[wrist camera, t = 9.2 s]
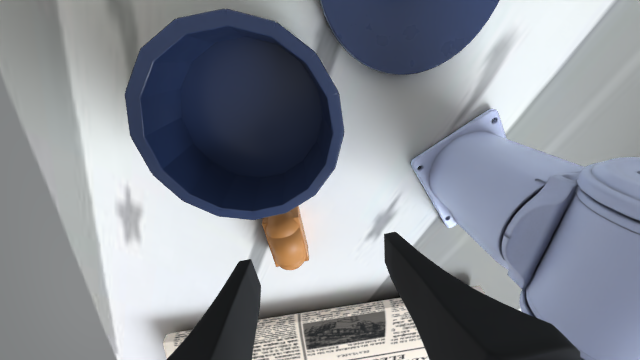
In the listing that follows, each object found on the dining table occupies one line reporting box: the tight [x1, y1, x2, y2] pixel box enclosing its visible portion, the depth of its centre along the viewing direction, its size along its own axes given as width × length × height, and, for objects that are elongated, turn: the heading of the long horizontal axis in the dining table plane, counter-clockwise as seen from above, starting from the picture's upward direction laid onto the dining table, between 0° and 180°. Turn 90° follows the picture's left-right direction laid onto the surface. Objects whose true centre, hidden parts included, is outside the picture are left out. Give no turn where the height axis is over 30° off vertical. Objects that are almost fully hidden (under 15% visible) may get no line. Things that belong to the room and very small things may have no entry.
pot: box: [125, 9, 344, 220], centre depth 16 cm, size 11×11×6 cm
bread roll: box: [262, 206, 309, 270], centre depth 22 cm, size 6×3×3 cm, turn 9°
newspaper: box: [163, 286, 485, 360], centre depth 32 cm, size 37×19×3 cm, turn 94°
